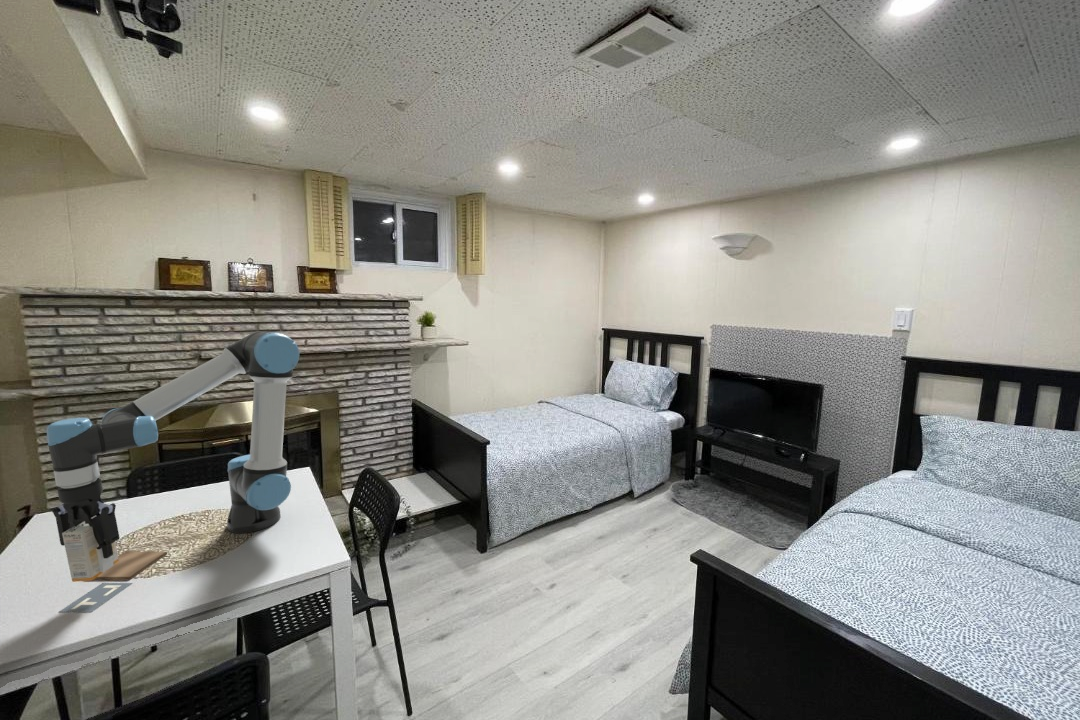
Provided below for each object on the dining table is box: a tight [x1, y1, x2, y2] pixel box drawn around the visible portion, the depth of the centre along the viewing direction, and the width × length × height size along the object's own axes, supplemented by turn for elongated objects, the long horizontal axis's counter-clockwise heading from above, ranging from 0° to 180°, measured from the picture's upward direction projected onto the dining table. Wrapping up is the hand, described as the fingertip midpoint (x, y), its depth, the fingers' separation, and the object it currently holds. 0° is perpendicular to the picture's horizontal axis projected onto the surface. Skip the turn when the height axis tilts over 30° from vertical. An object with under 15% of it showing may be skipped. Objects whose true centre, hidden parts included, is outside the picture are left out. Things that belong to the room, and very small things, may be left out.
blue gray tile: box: [58, 582, 133, 613], centre depth 114 cm, size 8×11×1 cm
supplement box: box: [62, 516, 119, 583], centre depth 112 cm, size 8×5×13 cm, turn 5°
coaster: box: [94, 550, 168, 581], centre depth 127 cm, size 12×12×1 cm
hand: (95, 568), depth 113 cm, fingers closed on supplement box, 5 cm apart
